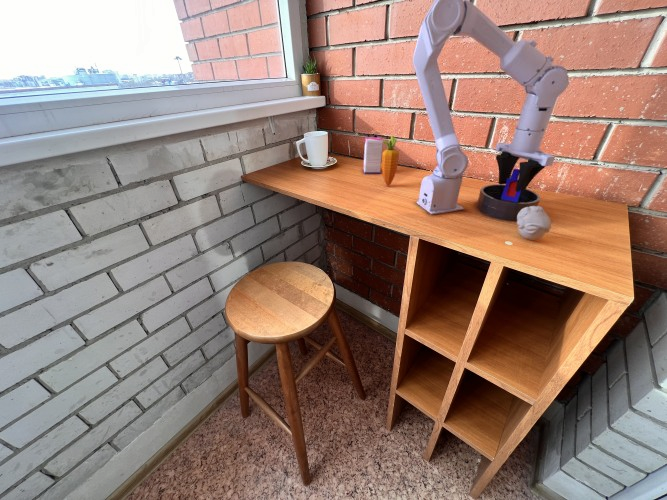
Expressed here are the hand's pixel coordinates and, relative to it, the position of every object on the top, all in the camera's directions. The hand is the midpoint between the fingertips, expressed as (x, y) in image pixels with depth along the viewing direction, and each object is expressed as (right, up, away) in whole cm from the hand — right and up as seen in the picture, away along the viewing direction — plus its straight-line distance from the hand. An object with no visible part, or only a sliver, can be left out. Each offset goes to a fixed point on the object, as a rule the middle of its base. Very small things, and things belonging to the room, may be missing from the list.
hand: (511, 187), depth 71 cm
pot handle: (+6, +3, +10) cm, 11 cm away
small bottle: (0, -3, +1) cm, 3 cm away
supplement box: (-30, +13, +33) cm, 47 cm away
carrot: (-27, +5, +20) cm, 34 cm away
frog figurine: (-2, -13, -9) cm, 16 cm away
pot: (0, -5, +3) cm, 6 cm away
